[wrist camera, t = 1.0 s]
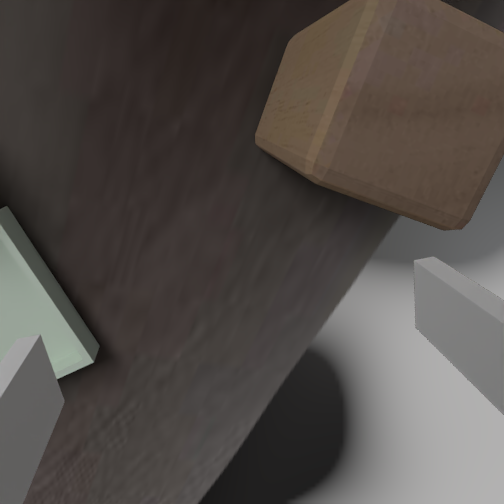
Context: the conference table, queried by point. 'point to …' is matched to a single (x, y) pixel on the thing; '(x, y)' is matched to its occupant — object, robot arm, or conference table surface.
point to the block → (392, 107)
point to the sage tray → (38, 304)
